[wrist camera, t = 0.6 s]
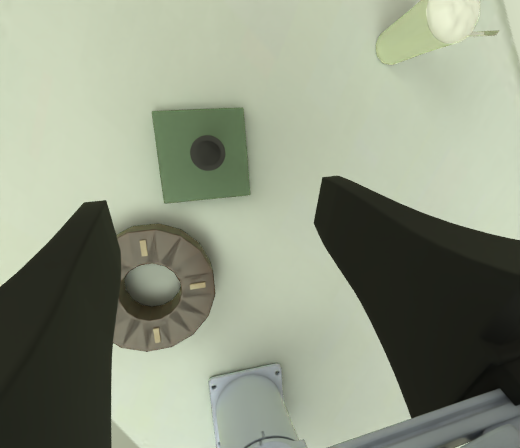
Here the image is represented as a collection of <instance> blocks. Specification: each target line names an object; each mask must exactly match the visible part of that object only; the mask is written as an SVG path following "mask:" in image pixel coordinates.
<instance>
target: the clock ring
mask: <svg viewBox="0 0 520 448" xmlns="http://www.w3.org/2000/svg"><path fill="white" fill-rule="evenodd" d="M116 236H117V240H118V243H119V247H120V250H121V283H120V291H119V300H118V307H117V315H116V322H115V330H114V338H113V343H114V344H116V345H118V346H119V347H121V348H127V349H133V350H140V351H146V352H148V351H153V350H158V349H164V348H169V347H172V346H174V345H176V344H178V343H179V342H181V341H183V340H184V339H186V338H188V337H190V336H191V335H193V334H194V333H195V332H196V330H197V329H198V328H199V327H200V325H201V324H202V323H203V322H204V321H205V319H206V318H207V317H208V316H209V313H210V310H211V306H212V303H213V300H214V297H215V285H214V276H213V270H212V266H211V262H210V260H209V258H208V257H207V255H206V253H205V252H204V250H203V248H202V246H201V245H200V243H199V242H197V241H196V240H195V239H193V238H192V237H191V236H189V235H188V234H187V233H185V232H184V231H183V230H181V229H178V228H174V227H170V226H166V225H163V224H159V223H156V224H147V225H138V226H132V227H130V228H128V229H126V230H125V231H123V232H121V233H119V234H117V235H116ZM151 263H153V264H158V265H162V266H165V267H167V268H168V269H170V270H171V271H173V272H174V273H175V275H176V276H177V278H178V279H179V281H180V284H181V287H180V290H179V292H178V293H177V295H176V296H175V297H174V298H173V300H171V301H169V302H167V303H166V304H164V305H159V306H153V307H151V306H146V305H141V304H140V303H138V302H136V301H135V300H133V299H132V298H131V296H130V295H129V293H128V292H127V290H126V285H125V277H126V275H127V273H128V272H129V271H130V270H132V269H134V268H136V267H138V266H139V265H144V264H151Z"/></svg>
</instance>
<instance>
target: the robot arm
mask: <svg viewBox="0 0 520 448" xmlns="http://www.w3.org/2000/svg"><path fill="white" fill-rule="evenodd" d="M314 225H315V227H316V229H317V231H318V234H319V236H320V238H321V240H322V242H323V244H324V246H325V248H326V249H327V251H328V252H329V254H330V255H331V257H332V258H333V260H334V262H335V263H336V265H337V266H338V268H339V269H340V271H341V272H342V274H343V275H344V277H345V278H346V280H347V281H348V283H349V284H350V286H351V287H352V289H353V290H354V292H355V293H356V295H357V297H358V298H359V300H360V302H361V304H362V306H363V308H364V310H365V312H366V313H367V315H368V317H369V319H370V321H371V323H372V325H373V327H374V329H375V332H376V334H377V336H378V338H379V340H380V342H381V344H382V346H383V348H384V351H385V353H386V355H387V358H388V360H389V362H390V365H391V367H392V369H393V372H394V374H395V376H396V379H397V381H398V384H399V386H400V389H401V392H402V394H403V397H404V399H405V402H406V405H407V407H408V410H409V413H410V415H411V418H412V419H409V420H406V421H403V422H400V423H397V424H394V425H391V426H388V427H386V428H383V429H380V430H377V431H374V432H371V433H368V434H365V435H362V436H359V437H357V438H354V439H351V440H348V441H345V442H342V443H339V444H336V445H333V446H330V447H328V448H455V447H458V446H460V445H463V444H466V443H467V444H466V445H464V446H462V447H460V448H520V240H515V239H510V238H505V237H501V236H497V235H492V234H488V233H484V232H481V231H477V230H473V229H470V228H466V227H463V226H459V225H456V224H453V223H450V222H447V221H444V220H441V219H438V218H435V217H432V216H429V215H427V214H424V213H422V212H419V211H417V210H414V209H412V208H409V207H407V206H405V205H402V204H400V203H398V202H396V201H393V200H391V199H389V198H387V197H385V196H383V195H380V194H378V193H376V192H374V191H372V190H370V189H368V188H366V187H363V186H361V185H359V184H357V183H355V182H353V181H350V180H348V179H345V178H343V177H340V176H331V177H322V183H321V188H320V193H319V198H318V204H317V209H316V214H315V219H314ZM120 283H121V250H120V247H119V243H118V240H117V236H116V233H115V229H114V226H113V222H112V219H111V215H110V212H109V209H108V205H107V202H106V200H104V201H95V202H85V203H83V204H82V205H81V206H80V208H79V209H78V210H77V211H76V212H75V213H74V214H73V215H72V217H71V218H70V219H69V220H68V221H67V222H66V223H65V225H64V226H63V227H62V228H61V229H60V230H59V231H58V232H57V233H56V235H55V236H54V237H53V238H52V239H51V240H50V241H49V242H48V243H47V244H46V245H45V246H44V247H43V248H42V249H41V250H40V251H39V252H38V253H37V254H36V255H35V256H34V257H33V258H32V259H31V260H30V261H29V262H28V263H27V264H26V265H25V266H24V267H23V268H22V269H20V270H19V271H18V272H17V273H16V274H15V275H14V276H13V277H11V278H10V279H9V280H8V281H7V282H6V283H4V284H3V285H2V286H1V287H0V448H111V369H112V347H113V338H114V330H115V322H116V315H117V307H118V300H119V291H120ZM276 371H278V373H275V372H276ZM213 385H216V386H215V387H212V386H213ZM209 390H210V398H211V406H212V415H213V423H214V431H215V439H216V448H307V445H306V443H305V441H304V440H299V438H298V436H297V433H296V431H295V428H294V426H293V424H292V421H291V419H290V416H289V414H288V412H287V409H286V407H285V404H284V400H283V386H282V371H281V366H280V364H278V363H275V364H270V365H265V366H261V367H256V368H252V369H247V370H242V371H238V372H233V373H228V374H224V375H219V376H214V377H211V378H210V379H209ZM219 441H220V442H219ZM468 442H469V443H468Z"/></svg>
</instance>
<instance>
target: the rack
mask: <svg viewBox="0 0 520 448" xmlns="http://www.w3.org/2000/svg"><path fill="white" fill-rule="evenodd" d="M152 117H153V125H154V132H155V140H156V147H157V154H158V162H159V169H160V177H161V184H162V191H163V199H164V203H175V202H185V201H195V200H206V199H216V198H226V197H236V196H246V195H250V184H249V172H248V160H247V147H246V135H245V123H244V111H243V108H219V109H195V110H171V111H152Z"/></svg>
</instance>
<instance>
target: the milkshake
mask: <svg viewBox="0 0 520 448" xmlns="http://www.w3.org/2000/svg"><path fill="white" fill-rule="evenodd" d="M479 16H480V0H421V1H419V2H418V3H417V4H416V5H415V6H414V7H413V8H412V9H410V10H409V11H408V12H407V13H406V14H404V15H403V16H402V17H401V18H400V19H398V20H397V21H396V22H395V23H393V24H392V25H391V26H390V27H389V28H387V29H386V30H385V31H384V32H383V33H381V34H380V36H379V38H378V40H377V43H376V54H377V57H378V58H379V59H380V60H381V62H382V63H383V64H388V65H394V64H397V63H400V62H402V61H405V60H408V59H411V58H413V57H416V56H419V55H422V54H424V53H427V52H430V51H433V50H437V49H440V48H443V47H446V46H449V45H452V44H456V43H459V42H461V41H463V40H464V39H466V38H467V37H470V36H493V35H497V33H498V32H499V31H480V32H472V31H473V29H474V28H475V26H476V24H477V22H478V19H479Z"/></svg>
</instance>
